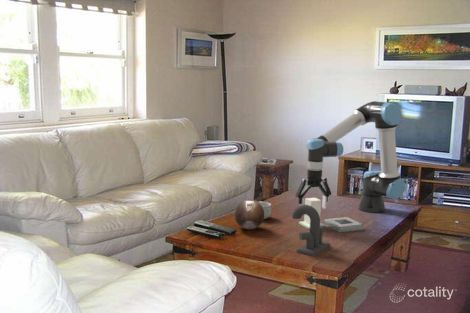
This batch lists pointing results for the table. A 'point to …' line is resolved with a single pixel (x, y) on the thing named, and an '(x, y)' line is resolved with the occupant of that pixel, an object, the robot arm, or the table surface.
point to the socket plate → (343, 224)
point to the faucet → (311, 231)
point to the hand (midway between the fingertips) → (312, 209)
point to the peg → (315, 204)
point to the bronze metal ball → (249, 214)
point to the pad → (307, 224)
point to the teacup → (266, 209)
